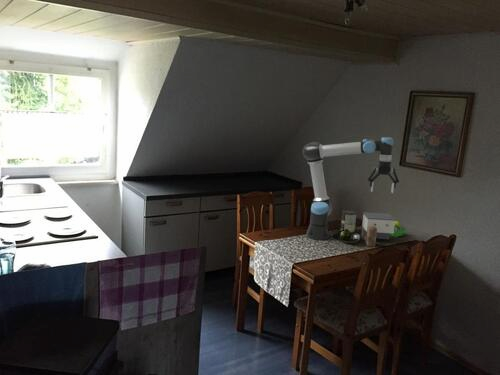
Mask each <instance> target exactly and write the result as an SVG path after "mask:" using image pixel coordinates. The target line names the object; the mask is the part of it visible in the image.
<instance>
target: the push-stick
mask: <svg viewBox="0 0 500 375" xmlns="http://www.w3.org/2000/svg"><path fill="white" fill-rule="evenodd" d="M376 235H377V228H376V227H371V226H368V228H367V237H366V236H365V237H364V238H363V239H364V241H365V244H366V246H367V247H376V243H377V242H376V241H377V239H376Z"/></svg>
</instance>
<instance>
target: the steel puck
mask: <svg viewBox="0 0 500 375" xmlns="http://www.w3.org/2000/svg"><path fill="white" fill-rule="evenodd" d="M352 236H353V239H352V240H354V239H358V240H357V241H360V240H361V234H357V233H355V234H353V235H352Z"/></svg>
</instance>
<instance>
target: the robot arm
mask: <svg viewBox="0 0 500 375" xmlns="http://www.w3.org/2000/svg"><path fill="white" fill-rule="evenodd" d="M302 148H303V149H302V155H303V157H304V159H306V163H307V164H308V165H309V167H310V175H311V181H312V188H313V194H314V198H313V199H312V200H313V202H312V204H311V205H310V206H311V207H310V220H309V226H308V228H307V230H306V237H307V238H309V239H312V240H316V241H317V240H319V241H321V240H322V241H323V240H327V239H329V238H330V235H329V231H328V220H329V218H328V217H329V215H331V213H332V211H333V205H332V203H331V198H330V197H329V196H328V195H327V194H328V193H327V187H326V181H325V175H324V168H323V162H324V157H325V158H326V157H336V156H345V155H355V154H357V155H358V154H373V153H374V152H380V153H379V161H378V167H376V166H373V170H372V171H371V173H370V175H369V176H368V178H367V181H368V182H369V187H370V192H371V193H372V192H373V190H374V184H375V183H374V181H375V180H376V179H377V178H378V177H379V176H380V175H383V176H384V175H386V176H388V177H389V178H390V180H391V181H392V183H391V191H390V192H391V193H392V194H394V189H395V188H396V185H397V183H398V184H399V182H400V181H399V177H398V175H397V173H396V168H394V167H393V168H391V165H392V158H393V149H394V138H392V137H385V136H384V137H381V139H371V138H370V139H369V138H368V139H367V138H364V139H363V140H362V141H357V142H345V143H334V144H325V145H323V144H321V143H320V142H317V141H312V142H309V143H307V144H305V145H304V147H302ZM377 171H378V172H377ZM391 172H392V174H391ZM375 173H376V174H375ZM392 175H393V176H394V178H393V176H392Z"/></svg>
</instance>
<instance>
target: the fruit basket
mask: <svg viewBox="0 0 500 375" xmlns="http://www.w3.org/2000/svg"><path fill="white" fill-rule="evenodd" d="M406 230H407V228H406V227H403V226H400V222H399V221H397V219H396V221H395V225H394V233H390V236H392V237H394V238H397V237H401V236H404V235H405V232H406Z"/></svg>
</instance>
